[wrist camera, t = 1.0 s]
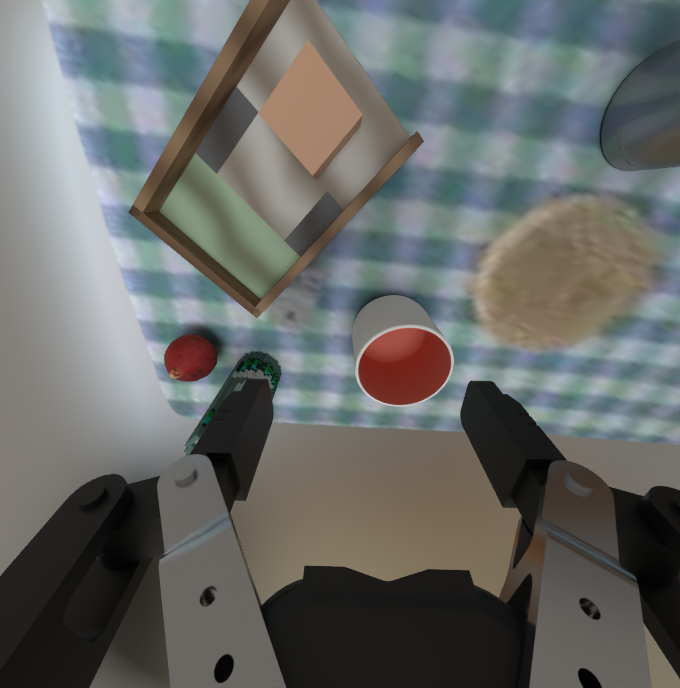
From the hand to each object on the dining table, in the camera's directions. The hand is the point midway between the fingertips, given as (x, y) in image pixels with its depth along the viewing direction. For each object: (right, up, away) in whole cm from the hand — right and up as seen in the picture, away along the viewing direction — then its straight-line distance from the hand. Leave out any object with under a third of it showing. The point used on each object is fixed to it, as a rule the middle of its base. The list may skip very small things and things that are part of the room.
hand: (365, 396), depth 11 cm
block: (-3, +23, +15) cm, 27 cm away
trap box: (-8, +19, +17) cm, 27 cm away
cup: (+6, +4, +25) cm, 26 cm away
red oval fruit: (-20, +2, +27) cm, 33 cm away
